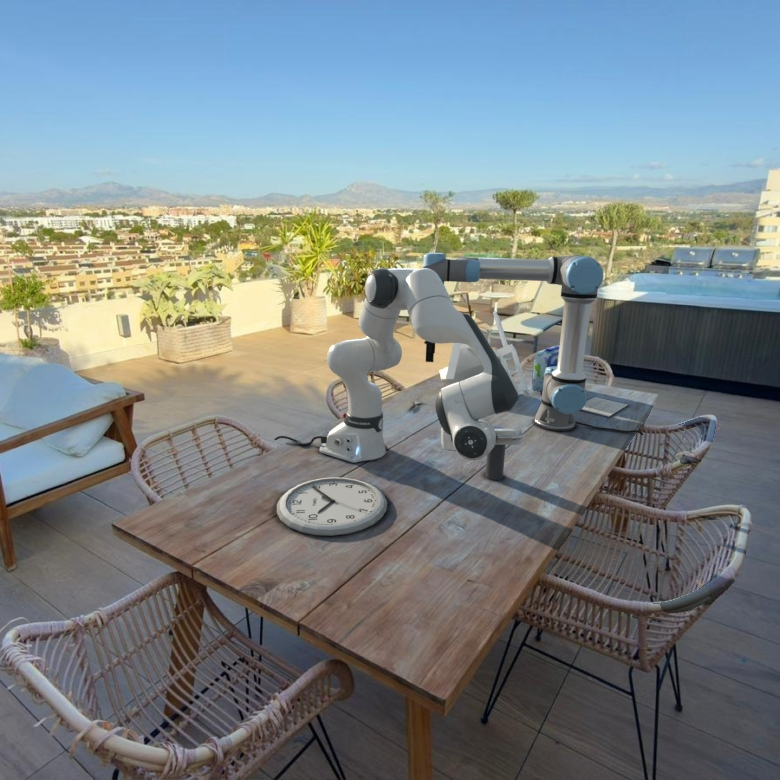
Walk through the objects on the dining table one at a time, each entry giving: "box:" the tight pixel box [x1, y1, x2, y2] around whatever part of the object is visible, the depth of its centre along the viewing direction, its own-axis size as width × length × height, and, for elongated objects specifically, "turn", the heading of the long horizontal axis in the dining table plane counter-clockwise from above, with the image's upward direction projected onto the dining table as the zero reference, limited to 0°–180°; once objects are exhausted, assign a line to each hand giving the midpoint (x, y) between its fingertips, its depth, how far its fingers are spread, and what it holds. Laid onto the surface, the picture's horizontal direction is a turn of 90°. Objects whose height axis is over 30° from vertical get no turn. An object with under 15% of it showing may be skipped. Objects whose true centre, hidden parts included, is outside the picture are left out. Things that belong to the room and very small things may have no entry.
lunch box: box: [531, 344, 560, 393], centre depth 245 cm, size 26×11×21 cm, turn 134°
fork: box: [408, 396, 423, 412], centre depth 222 cm, size 3×16×2 cm, turn 160°
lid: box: [493, 426, 506, 429], centre depth 157 cm, size 6×6×2 cm
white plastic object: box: [438, 310, 531, 397], centre depth 245 cm, size 37×45×31 cm
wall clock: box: [276, 476, 388, 537], centre depth 142 cm, size 30×2×30 cm
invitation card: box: [580, 396, 629, 418], centre depth 226 cm, size 21×1×15 cm
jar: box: [484, 445, 507, 481], centre depth 159 cm, size 5×5×15 cm
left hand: (482, 434), depth 139 cm, fingers open, 8 cm apart
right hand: (430, 357), depth 190 cm, fingers open, 13 cm apart
